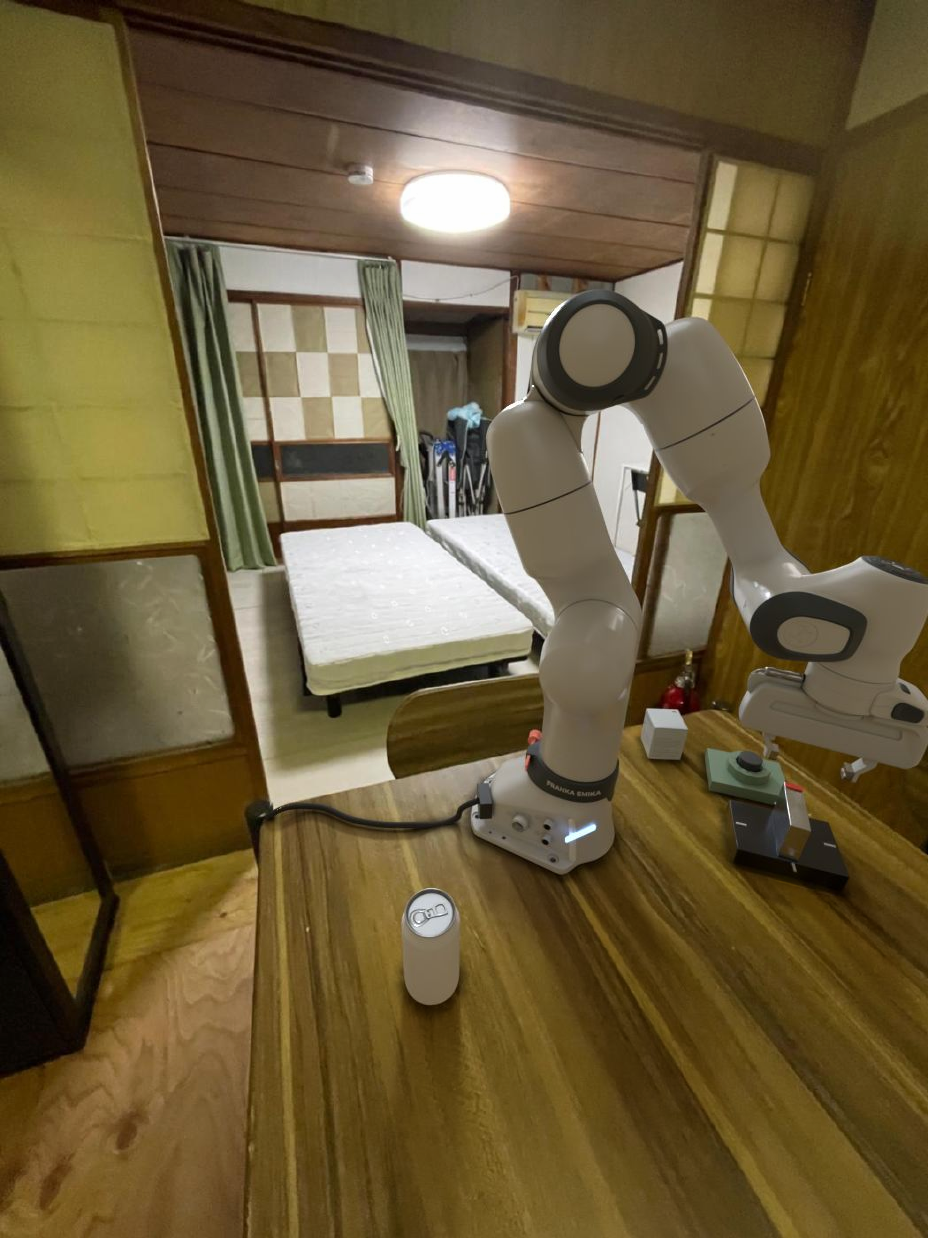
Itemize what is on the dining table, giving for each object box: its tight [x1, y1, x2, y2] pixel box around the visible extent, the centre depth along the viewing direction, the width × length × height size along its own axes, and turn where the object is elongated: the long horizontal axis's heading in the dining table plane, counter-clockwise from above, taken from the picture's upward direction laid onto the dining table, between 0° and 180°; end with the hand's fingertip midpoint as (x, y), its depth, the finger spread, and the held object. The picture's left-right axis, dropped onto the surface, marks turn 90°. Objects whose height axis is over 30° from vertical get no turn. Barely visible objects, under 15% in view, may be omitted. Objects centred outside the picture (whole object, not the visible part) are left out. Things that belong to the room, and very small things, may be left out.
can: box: [400, 887, 461, 1006], centre depth 58 cm, size 6×6×12 cm
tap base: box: [724, 799, 850, 892], centre depth 77 cm, size 14×13×3 cm
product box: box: [640, 707, 689, 761], centre depth 96 cm, size 6×6×7 cm
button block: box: [704, 747, 787, 806], centre depth 89 cm, size 12×9×4 cm
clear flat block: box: [772, 781, 811, 861], centre depth 75 cm, size 9×2×6 cm, turn 156°
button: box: [737, 750, 764, 772], centre depth 88 cm, size 4×4×2 cm
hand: (807, 767), depth 71 cm, fingers open, 8 cm apart
